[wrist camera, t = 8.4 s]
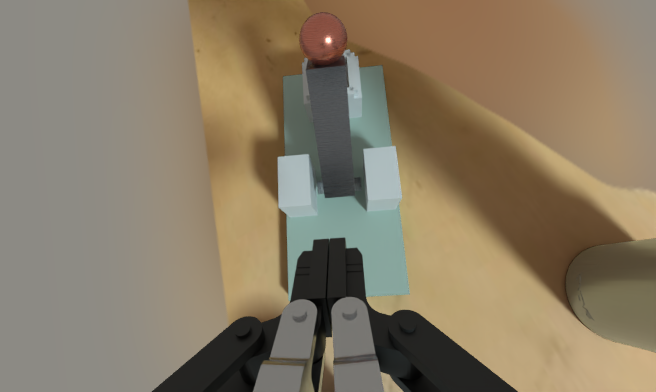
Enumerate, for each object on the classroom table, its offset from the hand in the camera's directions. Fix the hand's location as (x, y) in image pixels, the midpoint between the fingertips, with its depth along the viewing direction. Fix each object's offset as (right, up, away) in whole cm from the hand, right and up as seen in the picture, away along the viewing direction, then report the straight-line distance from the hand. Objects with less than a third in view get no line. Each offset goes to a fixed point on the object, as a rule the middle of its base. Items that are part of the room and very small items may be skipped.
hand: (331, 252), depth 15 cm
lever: (+1, +4, +17) cm, 17 cm away
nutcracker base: (+1, +5, +21) cm, 22 cm away
